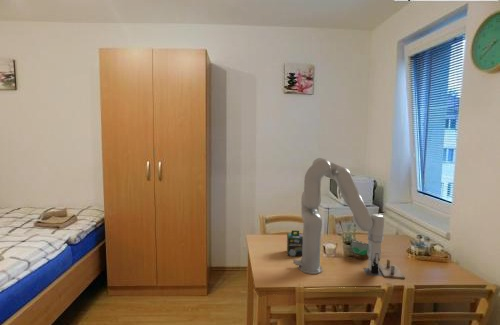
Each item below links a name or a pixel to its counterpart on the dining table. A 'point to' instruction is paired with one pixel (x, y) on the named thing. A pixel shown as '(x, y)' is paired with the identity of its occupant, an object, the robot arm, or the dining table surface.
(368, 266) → the sleeve
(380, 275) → the mat
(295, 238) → the chalk box
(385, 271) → the pinboard
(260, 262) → the dining table surface
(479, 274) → the dining table surface
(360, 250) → the food container
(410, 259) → the dining table surface
